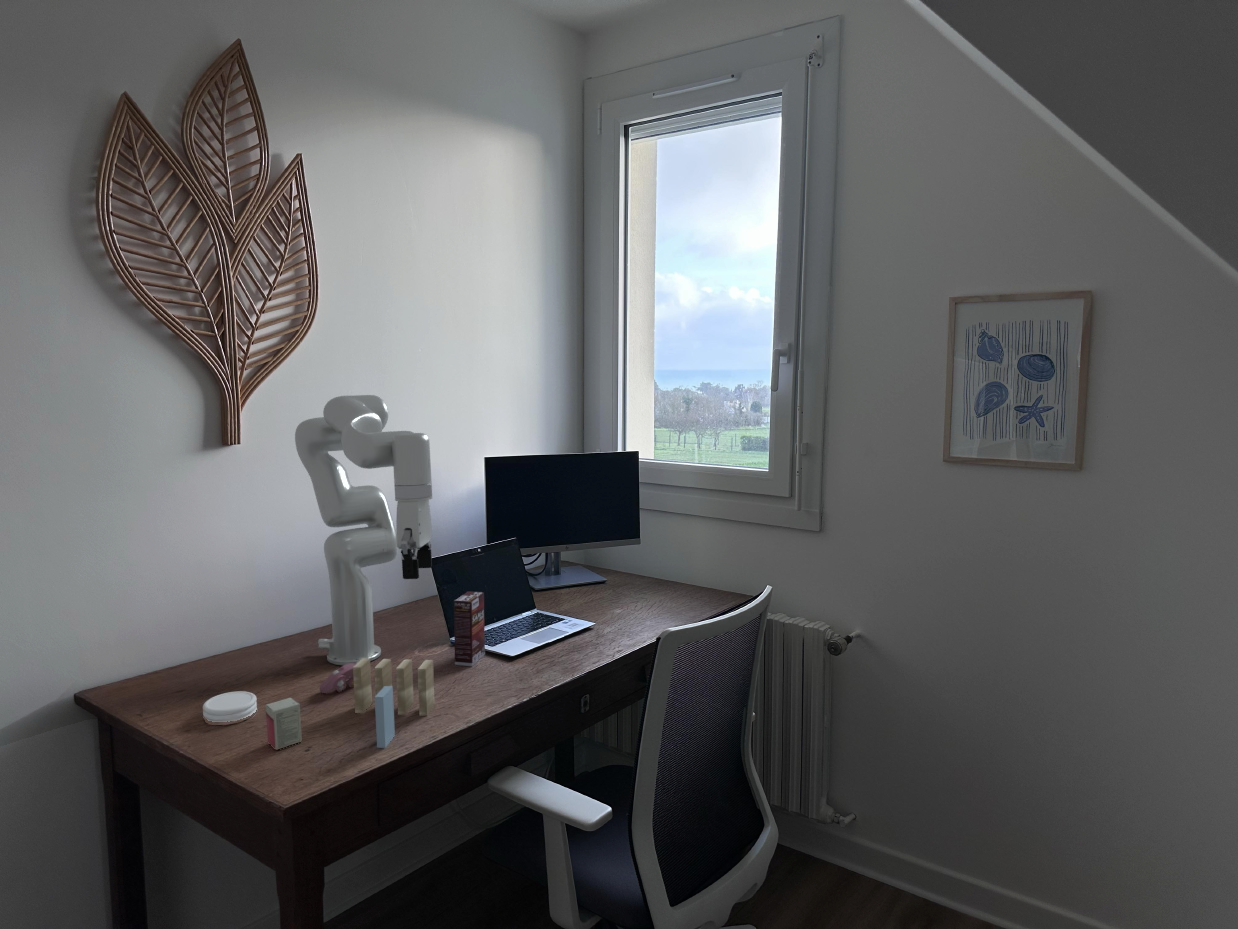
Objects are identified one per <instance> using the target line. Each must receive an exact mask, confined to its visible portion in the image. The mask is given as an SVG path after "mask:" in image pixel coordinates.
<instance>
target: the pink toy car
mask: <svg viewBox="0 0 1238 929" xmlns="http://www.w3.org/2000/svg"><path fill="white" fill-rule="evenodd" d="M357 663H358V662H357ZM357 663H356V664H357ZM356 664H353V663H351V664H346V665H341V667H339V668H338V669H336V670H334V671H333V672H332V673H330V674H329V676H328V677H327V678H326V679H325V680H324V681H322V683H320V686H319V691H320V693H321V694H323V693H326V694H329V693H330V692H332V691H333V690H336V691H337V692H338V693H341V692H343V691H345V689H346V687H347V686H348V687H350V688H354V677H353V667H354V666H355V665H356ZM342 690H343V691H342ZM340 691H341V692H340Z"/></svg>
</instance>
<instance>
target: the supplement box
mask: <svg viewBox="0 0 1238 929" xmlns="http://www.w3.org/2000/svg"><path fill="white" fill-rule="evenodd" d="M453 618H454V619H453V623H454V624H453V625H454V626H453V627H454V628H453V629H454V631H453V637H454V665H455V666H462V667H473V666H474V665H475V664H476V663H477V662H478V661H479V660H480V659H481V658H483V657H484V656H485V655H486V646H485V645H486V641H485V640H486V637H485V635H486V634H485V631H486V630H485V592H482V591H466V592H465V593H463V594H462V595H460V597H458V598H457V599H454V600H453Z"/></svg>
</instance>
